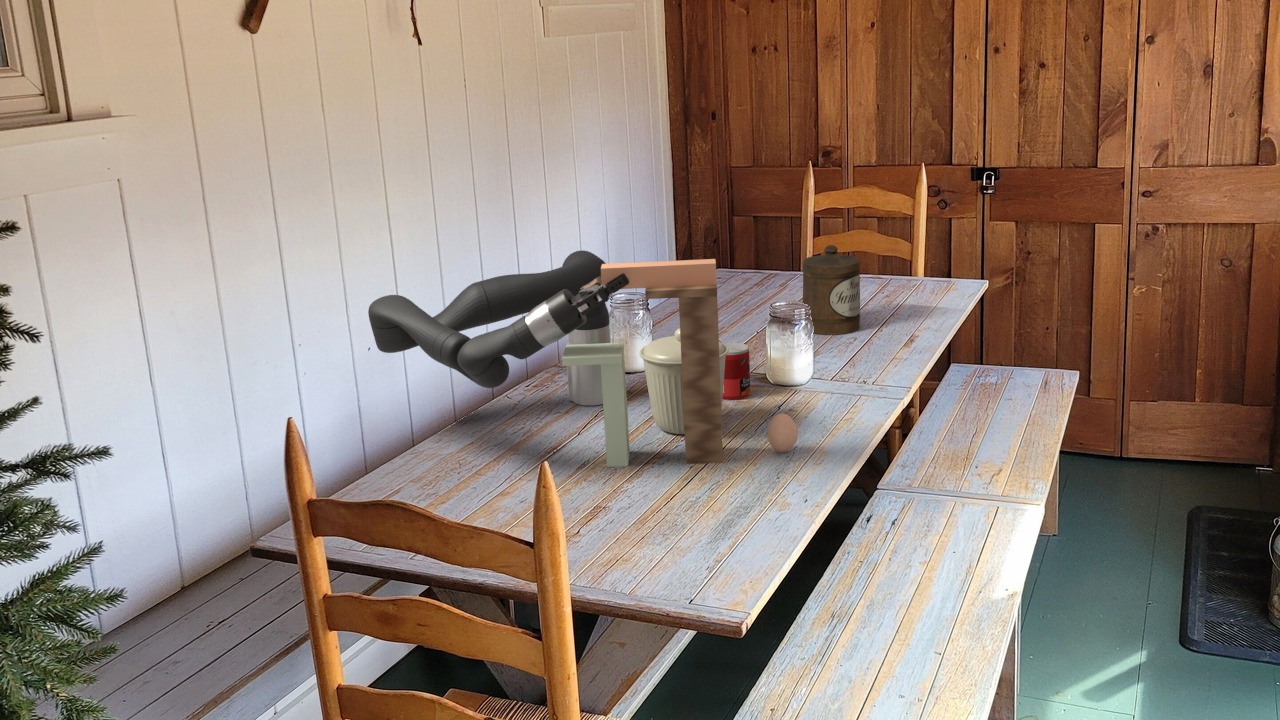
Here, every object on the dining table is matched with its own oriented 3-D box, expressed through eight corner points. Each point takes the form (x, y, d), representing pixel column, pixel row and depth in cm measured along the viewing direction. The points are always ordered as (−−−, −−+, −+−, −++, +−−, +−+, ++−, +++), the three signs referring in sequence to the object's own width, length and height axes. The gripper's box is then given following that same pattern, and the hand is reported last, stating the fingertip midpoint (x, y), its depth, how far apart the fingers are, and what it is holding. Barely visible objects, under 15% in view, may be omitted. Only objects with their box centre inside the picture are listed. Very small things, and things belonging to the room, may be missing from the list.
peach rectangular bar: (602, 289, 221) (600, 268, 220) (603, 285, 225) (602, 264, 224) (716, 284, 220) (715, 263, 219) (715, 280, 224) (715, 258, 223)
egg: (797, 457, 229) (796, 419, 226) (766, 456, 230) (765, 418, 227) (798, 446, 234) (798, 409, 232) (768, 445, 235) (768, 409, 233)
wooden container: (846, 337, 306) (846, 252, 300) (793, 332, 314) (792, 249, 308) (869, 323, 318) (869, 241, 312) (817, 318, 326) (816, 238, 320)
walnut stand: (654, 466, 228) (645, 291, 218) (655, 449, 236) (646, 280, 227) (723, 463, 227) (717, 287, 218) (721, 446, 236) (715, 277, 226)
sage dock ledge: (570, 469, 229) (562, 358, 222) (574, 452, 237) (566, 344, 231) (628, 467, 228) (621, 355, 222) (629, 450, 237) (623, 342, 230)
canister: (670, 448, 237) (665, 345, 231) (628, 423, 252) (622, 326, 246) (748, 429, 244) (745, 329, 238) (702, 406, 260) (699, 312, 254)
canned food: (748, 400, 262) (747, 352, 259) (712, 400, 264) (710, 352, 261) (752, 389, 269) (751, 342, 266) (716, 389, 271) (715, 342, 268)
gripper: (539, 311, 217) (614, 263, 214) (548, 292, 231) (618, 247, 228) (563, 344, 219) (637, 298, 216) (570, 324, 233) (640, 280, 230)
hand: (628, 272), depth 222 cm, fingers open, 8 cm apart
